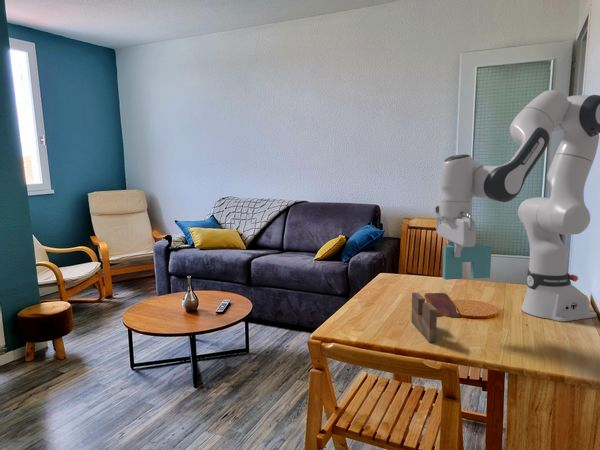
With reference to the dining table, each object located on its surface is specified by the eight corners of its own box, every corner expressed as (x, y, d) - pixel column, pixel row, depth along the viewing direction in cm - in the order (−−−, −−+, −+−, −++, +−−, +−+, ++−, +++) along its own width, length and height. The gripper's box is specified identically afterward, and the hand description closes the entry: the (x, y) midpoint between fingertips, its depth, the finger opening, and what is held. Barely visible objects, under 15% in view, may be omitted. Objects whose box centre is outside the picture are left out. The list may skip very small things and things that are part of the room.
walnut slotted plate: (417, 321, 140) (418, 292, 139) (435, 342, 125) (436, 309, 123) (411, 322, 140) (412, 292, 139) (429, 342, 125) (430, 309, 123)
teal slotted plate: (486, 275, 132) (488, 244, 131) (489, 277, 130) (491, 245, 129) (442, 277, 131) (443, 245, 130) (445, 279, 129) (446, 247, 128)
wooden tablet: (462, 319, 143) (462, 315, 143) (431, 318, 145) (431, 313, 145) (449, 294, 169) (449, 290, 169) (422, 293, 171) (422, 289, 170)
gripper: (483, 214, 117) (481, 263, 119) (451, 206, 137) (450, 248, 140) (460, 215, 117) (458, 264, 119) (432, 206, 137) (431, 248, 139)
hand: (454, 255), depth 129 cm, fingers closed on teal slotted plate, 2 cm apart
